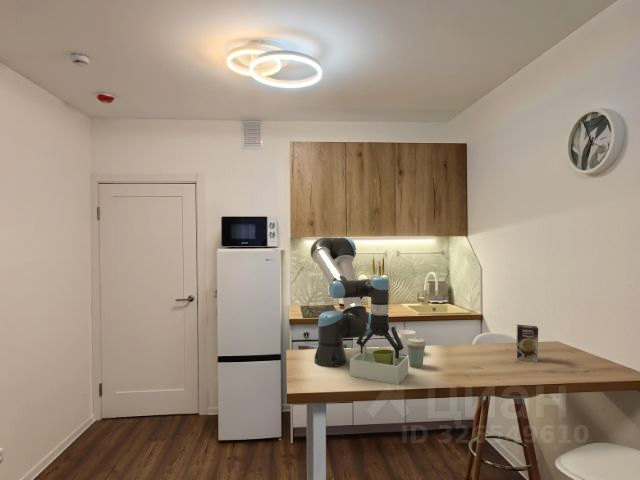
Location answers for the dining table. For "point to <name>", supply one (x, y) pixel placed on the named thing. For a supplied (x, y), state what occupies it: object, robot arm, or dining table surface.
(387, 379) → the box
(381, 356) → the plant pot
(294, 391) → the dining table surface
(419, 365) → the coffee cup
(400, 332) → the mug
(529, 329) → the coffee box
